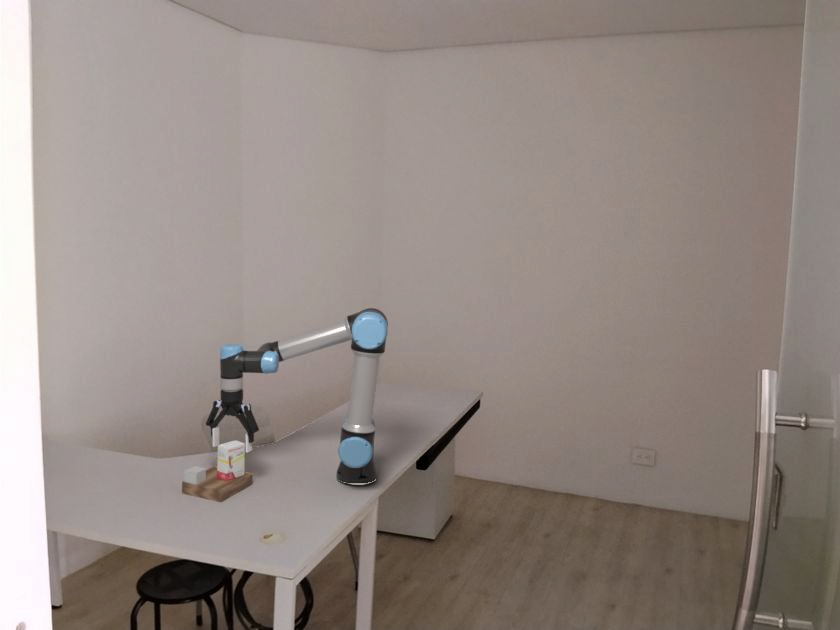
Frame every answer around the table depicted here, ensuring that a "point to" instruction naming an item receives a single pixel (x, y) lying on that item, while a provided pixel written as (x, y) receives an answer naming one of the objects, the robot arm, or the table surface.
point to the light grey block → (195, 475)
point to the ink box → (230, 460)
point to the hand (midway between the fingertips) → (232, 448)
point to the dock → (217, 486)
